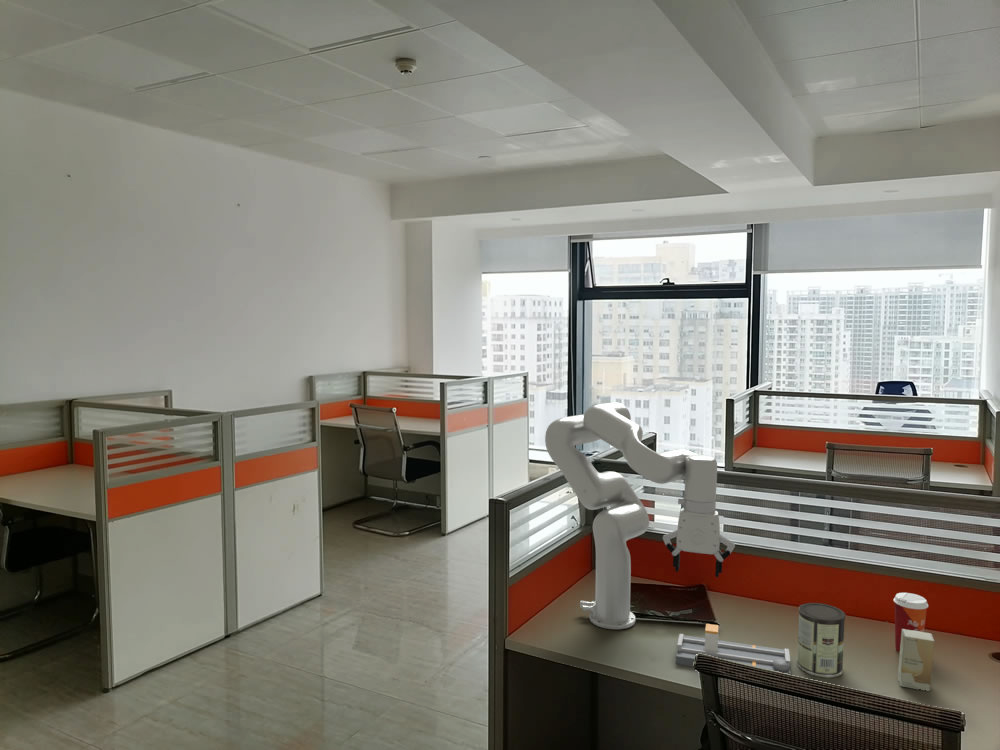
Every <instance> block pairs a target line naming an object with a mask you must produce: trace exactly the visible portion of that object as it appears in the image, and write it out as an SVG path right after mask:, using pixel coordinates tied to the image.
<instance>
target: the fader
mask: <svg viewBox="0 0 1000 750" xmlns="http://www.w3.org/2000/svg"><path fill="white" fill-rule="evenodd" d="M719 627H720V626H719V625H718V624H710V623H705V629H704V632H705V633H704V638H705V651H709V652H716V653H717V652H718V640H719Z"/></svg>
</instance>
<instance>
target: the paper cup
mask: <svg viewBox="0 0 1000 750" xmlns="http://www.w3.org/2000/svg"><path fill="white" fill-rule="evenodd" d="M893 602H894V636H895V637H894V642H895V647H894V648H895V650H896V651H897V653H899V654H900V644H901V633H902V629H906V630H914V631H920V632H925V624H926V618H927V609H928V608H929V604H928V601H927V599H926V598H925V597H923V596H921V595H919V594H916V593H910V592H898V593H896V594H895V596H894V598H893Z"/></svg>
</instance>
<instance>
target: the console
mask: <svg viewBox="0 0 1000 750" xmlns="http://www.w3.org/2000/svg"><path fill="white" fill-rule="evenodd" d="M698 653H702V654H707V655H711V656H714V657H718V658H721V659H726V660H730V661H735V662H740V663H744V664H749V665H752V666H757V667H760V668H765V669H770V670H774V671H779V672H782V673H788V674H790V675H791V655H790V649H789V648H787V647H786V648H777V647H776V648H775V647H769V646H761V645H754V644H748V643H741V642H733V641H726V640H719V639H718V652H717V653H716V652H709V651H705V637H700V636H692V635H685V634H684V633H679V635H678V640H677V645H676V654H675V664H676V665H681V666H687V667H688V666H689V667H693V662H694V659H695V656H696V654H698Z"/></svg>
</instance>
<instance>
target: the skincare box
mask: <svg viewBox="0 0 1000 750" xmlns="http://www.w3.org/2000/svg"><path fill="white" fill-rule="evenodd" d="M934 648H935V638H934V637H933V634H932V633H929V632H926V631H924V632H920V631H914V630H906V629H902V633H901V644H900V653H899V657H898V670H897V680H898V684H899V686H900V687H904V688H909V689H915V690H919V689H921V690H920V691H925V690H926V691H925V692H930V691H931V685H932V683H931V682H932V671H933V659H934Z"/></svg>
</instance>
